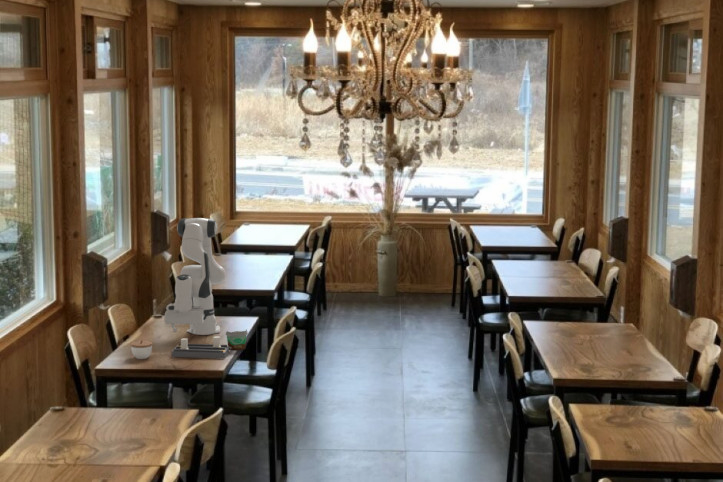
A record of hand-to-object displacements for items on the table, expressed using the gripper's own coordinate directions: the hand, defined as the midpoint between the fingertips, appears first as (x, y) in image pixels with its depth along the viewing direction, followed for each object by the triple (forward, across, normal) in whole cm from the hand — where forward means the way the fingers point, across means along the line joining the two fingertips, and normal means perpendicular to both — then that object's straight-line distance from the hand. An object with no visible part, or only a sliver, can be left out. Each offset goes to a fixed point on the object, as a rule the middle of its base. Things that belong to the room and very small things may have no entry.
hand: (184, 332), depth 559 cm
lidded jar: (+13, +21, +6) cm, 25 cm away
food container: (+13, -26, -16) cm, 33 cm away
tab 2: (+9, -16, -7) cm, 20 cm away
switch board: (+13, -8, -4) cm, 15 cm away
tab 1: (+9, 0, -1) cm, 9 cm away
